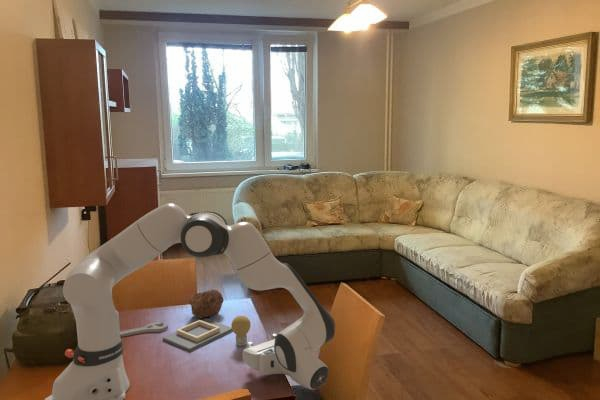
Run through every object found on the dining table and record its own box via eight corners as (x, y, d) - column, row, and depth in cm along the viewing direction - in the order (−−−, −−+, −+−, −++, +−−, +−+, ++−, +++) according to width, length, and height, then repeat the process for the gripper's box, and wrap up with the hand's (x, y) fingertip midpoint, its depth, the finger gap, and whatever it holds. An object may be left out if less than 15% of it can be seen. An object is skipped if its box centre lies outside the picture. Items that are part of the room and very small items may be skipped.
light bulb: (249, 348, 170) (249, 320, 168) (230, 348, 170) (229, 320, 168) (251, 340, 176) (251, 312, 175) (233, 340, 177) (232, 312, 175)
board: (189, 351, 168) (189, 344, 168) (162, 340, 177) (162, 333, 176) (233, 330, 184) (232, 324, 184) (206, 320, 192) (206, 314, 192)
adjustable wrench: (93, 343, 176) (92, 338, 175) (93, 336, 182) (93, 331, 181) (167, 331, 184) (167, 326, 184) (165, 324, 190) (165, 320, 190)
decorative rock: (221, 307, 205) (220, 283, 203) (226, 318, 195) (225, 293, 193) (188, 311, 201) (187, 287, 200) (191, 323, 191) (190, 297, 189)
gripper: (313, 337, 158) (287, 322, 168) (257, 356, 145) (232, 339, 156) (313, 356, 159) (287, 340, 170) (258, 377, 147) (233, 358, 157)
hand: (260, 340), depth 163 cm, fingers open, 8 cm apart
